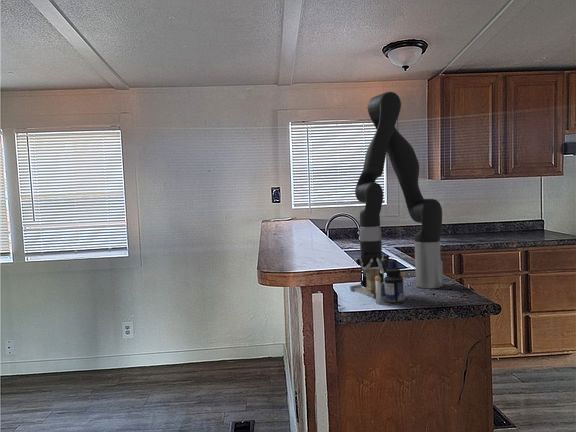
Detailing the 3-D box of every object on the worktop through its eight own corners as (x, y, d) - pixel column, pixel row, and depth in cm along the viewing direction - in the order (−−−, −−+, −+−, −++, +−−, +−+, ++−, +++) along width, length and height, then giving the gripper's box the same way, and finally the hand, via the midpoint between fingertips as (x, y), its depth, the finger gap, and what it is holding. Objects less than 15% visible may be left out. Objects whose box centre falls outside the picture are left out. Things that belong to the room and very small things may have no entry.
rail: (360, 289, 172) (359, 284, 172) (382, 296, 159) (382, 291, 159) (350, 290, 170) (350, 286, 170) (372, 297, 157) (372, 292, 157)
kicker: (377, 288, 164) (376, 267, 164) (397, 294, 154) (396, 271, 154) (359, 291, 161) (358, 269, 161) (378, 297, 151) (377, 274, 150)
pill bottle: (400, 299, 153) (399, 267, 153) (406, 304, 147) (405, 270, 146) (382, 300, 153) (381, 268, 152) (387, 305, 147) (386, 271, 146)
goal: (403, 298, 155) (402, 271, 154) (407, 299, 153) (406, 272, 152) (374, 303, 150) (373, 275, 149) (378, 304, 148) (377, 276, 147)
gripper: (380, 236, 166) (382, 281, 167) (347, 240, 160) (349, 286, 161) (393, 238, 159) (395, 284, 160) (359, 241, 153) (361, 290, 154)
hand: (372, 285), depth 160 cm, fingers open, 6 cm apart
